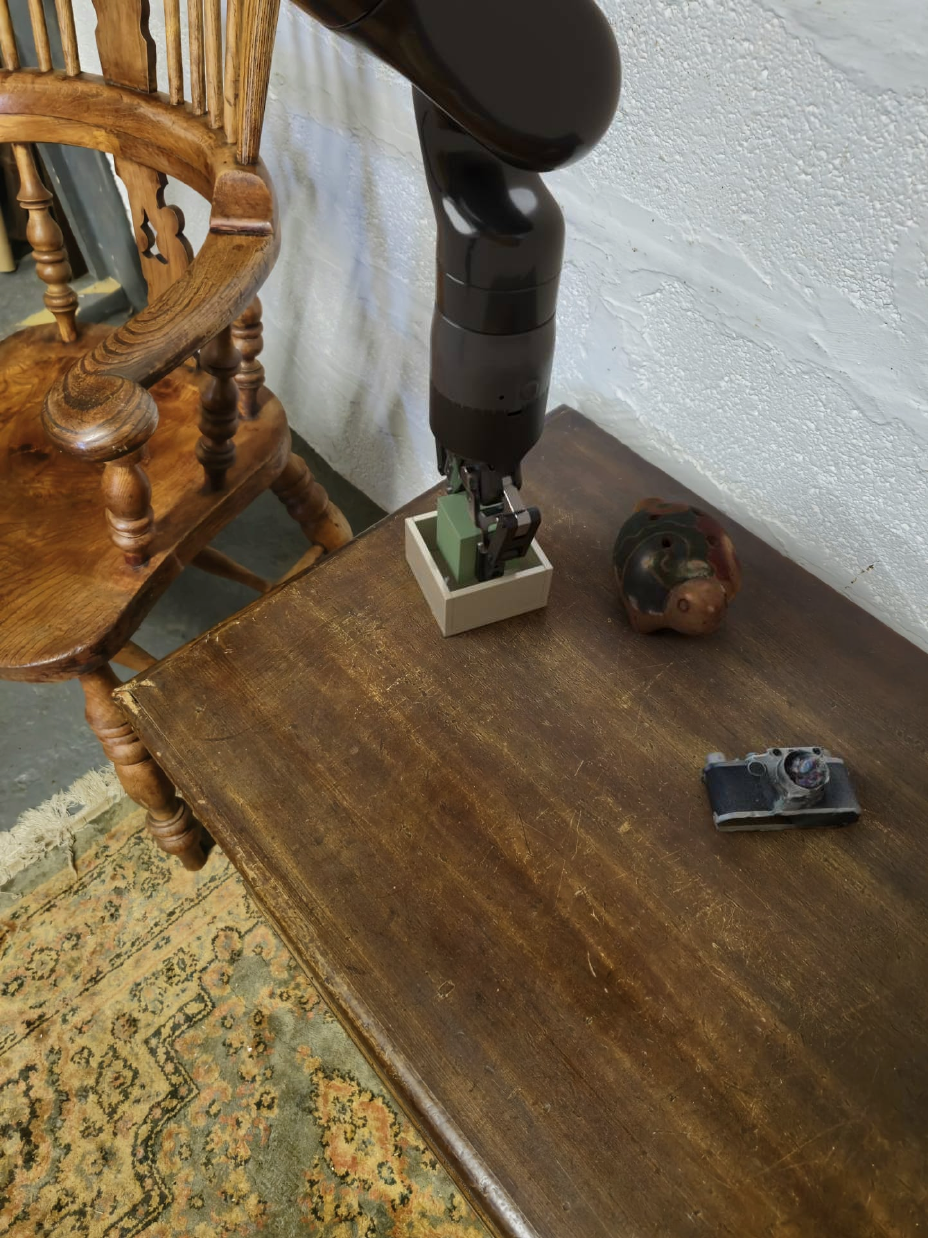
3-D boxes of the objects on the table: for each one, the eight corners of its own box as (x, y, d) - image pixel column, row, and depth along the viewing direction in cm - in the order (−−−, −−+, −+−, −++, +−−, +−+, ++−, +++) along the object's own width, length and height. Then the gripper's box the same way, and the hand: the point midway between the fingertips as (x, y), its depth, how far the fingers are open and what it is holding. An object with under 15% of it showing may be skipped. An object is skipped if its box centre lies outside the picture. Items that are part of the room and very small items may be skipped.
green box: (457, 584, 64) (460, 539, 60) (436, 543, 66) (437, 497, 62) (517, 567, 65) (524, 522, 61) (494, 527, 68) (498, 481, 64)
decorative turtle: (639, 687, 63) (655, 617, 57) (580, 547, 72) (588, 474, 66) (763, 665, 64) (791, 593, 58) (688, 530, 73) (705, 456, 67)
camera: (690, 764, 59) (706, 733, 56) (834, 760, 60) (859, 730, 56) (706, 832, 56) (725, 805, 52) (858, 828, 56) (886, 801, 53)
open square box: (444, 637, 65) (445, 600, 61) (405, 557, 70) (404, 518, 66) (546, 606, 67) (553, 568, 63) (502, 531, 72) (506, 491, 68)
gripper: (393, 315, 55) (399, 503, 68) (479, 454, 47) (466, 636, 61) (499, 294, 57) (484, 482, 70) (598, 425, 49) (560, 608, 63)
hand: (476, 552), depth 65 cm, fingers closed on green box, 4 cm apart
